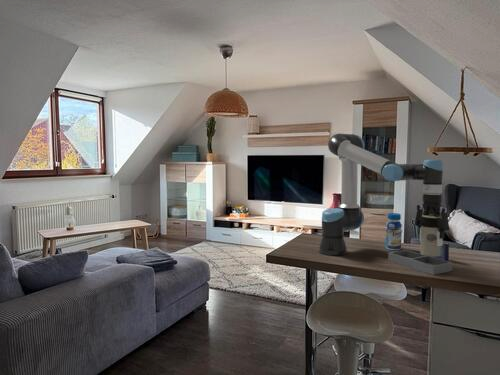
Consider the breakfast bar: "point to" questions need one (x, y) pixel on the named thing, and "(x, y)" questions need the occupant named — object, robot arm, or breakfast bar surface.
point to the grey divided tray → (420, 262)
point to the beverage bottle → (393, 232)
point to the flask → (444, 252)
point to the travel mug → (429, 236)
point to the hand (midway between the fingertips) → (430, 243)
